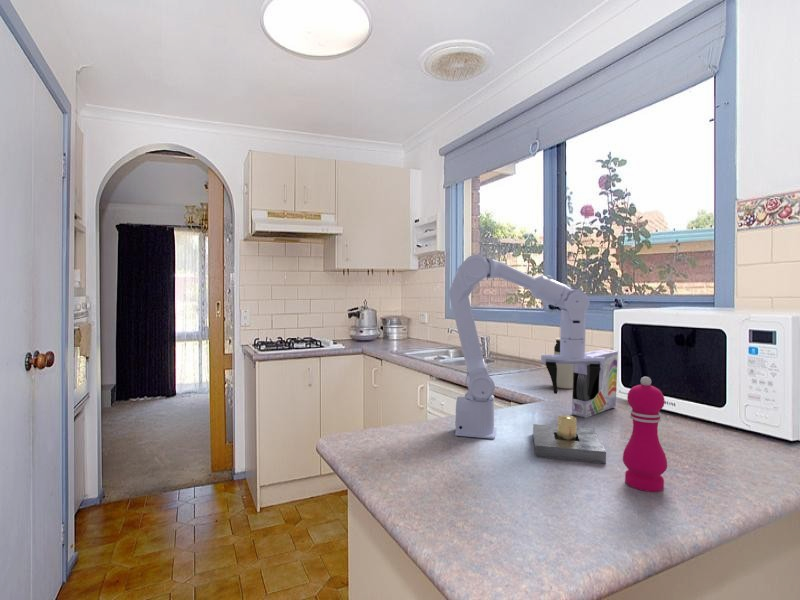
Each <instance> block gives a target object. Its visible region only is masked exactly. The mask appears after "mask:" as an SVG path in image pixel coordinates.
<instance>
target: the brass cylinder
mask: <svg viewBox="0 0 800 600" xmlns="http://www.w3.org/2000/svg"><path fill="white" fill-rule="evenodd" d="M577 422H578V421H577V417H575V416H574V415H569V414H568V415H566V414H559V415H557V426H558V428H557V439H558V440H570V441H576V428H577Z"/></svg>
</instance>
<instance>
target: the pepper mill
mask: <svg viewBox="0 0 800 600" xmlns="http://www.w3.org/2000/svg"><path fill="white" fill-rule="evenodd" d="M627 402H628V404H629V406H630V407H631V409H630V410H629V412H630V415H629V418H630V419H632V433H631V435H630V438H629V439H628V442H627V443H626V444H625V445H626V446H625V447H624V450H623V454H622V462H623V464H624V465H625V467H626V468H627V470H626V471H625V472H624V473H625V475H624V477H625V478H624V480H625V483H626V484H627V485H628V486H630V487H632V488H634V489H636V490H639V491H644V492H660V491H662V490H663V489H664V486H665V478H664V477H663V476H662V474H664V473H666V470H667V468H668V460H667V456H666V453H665V450H664V449H663V447H662V445H661V442H660V440H659V434H658V427H659V422H661V421H662V418H661V416H662V414H661V412H660V411H661V410H662V409H663V408H664V406H665V396H664V394H663V392H662V390H661V389H660V388H657V387H656V386H654V385H652V379H651V377H650V376H643V377H641V378H640V384H637V385H636V384H635V386H632V387H631V388H630V389H629V390H628V393H627Z"/></svg>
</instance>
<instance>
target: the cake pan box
mask: <svg viewBox="0 0 800 600" xmlns="http://www.w3.org/2000/svg"><path fill="white" fill-rule="evenodd" d="M618 353H619V351H617V350H613V349H612V350H611V349H607V348H604V349H599V350H591V351H587V352H586V351H585V356H593V357H604V358H605V366H600V367H601V370H600V372H599V374H598V376H597V378H596V380H595V382H594V385H593V388H592V391H591V396H588V395H587V365H576V364H573V389H572V398H571V399H572V401H571V402H572V403H571V407H572V408H571V410H572V412H571V414H572V415H571V416H577V417H580V418H585V419H586V418H590V417H593V416H595V415H597V414H600V413H602V412H605V411H607V410H611V409H613V408H615V407H617V383H618V382H617V379H618V360H619V354H618Z"/></svg>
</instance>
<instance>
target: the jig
mask: <svg viewBox="0 0 800 600" xmlns="http://www.w3.org/2000/svg"><path fill="white" fill-rule="evenodd" d="M532 425H533V427H532V429H533V430H532V433H533V434H532V436H533V447H534V458H541V457H542V458H543V459H551V458H553V459H554V460H562V461H563V460H564V461H575V462H584V463H595V464H604V465H605V464H607V451H606V449H605V447H604V445H603V443H602V441H601V440H600V437H599V436H598V434H597V432H596V430H595V428H589V427H588V428H587V427H576V441H570V440H558V439H557V428H558V425H548V424H534V423H533V424H532Z"/></svg>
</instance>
